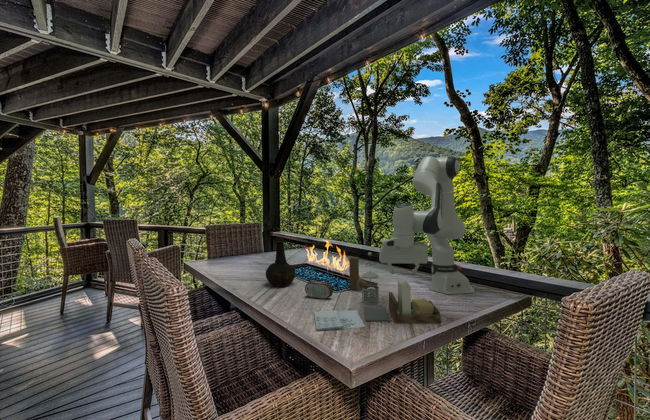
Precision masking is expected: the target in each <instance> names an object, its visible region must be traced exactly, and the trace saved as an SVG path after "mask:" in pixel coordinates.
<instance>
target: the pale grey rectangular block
mask: <svg viewBox="0 0 650 420" xmlns="http://www.w3.org/2000/svg"><path fill="white" fill-rule="evenodd" d="M411 289H412V288H411V285H410V283H409V282H408V281H407V279H397V302H398V310H397V313H398V314H412V310H411V302H412V293H411V291H412V290H411Z"/></svg>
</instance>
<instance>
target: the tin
mask: <svg viewBox="0 0 650 420" xmlns="http://www.w3.org/2000/svg"><path fill="white" fill-rule="evenodd" d="M304 291H305V293H306V296H307V297H309V298H313V299H320V300H328V299H329V298H331V297H332V296H333V293H334V290H333V287H332V285H331V284H330V283H328V282H327V281H318V280H310V281H309V282H307V283H306V285H305V286H304Z"/></svg>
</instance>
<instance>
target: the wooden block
mask: <svg viewBox="0 0 650 420" xmlns="http://www.w3.org/2000/svg"><path fill="white" fill-rule="evenodd" d="M348 261H349V262H348V263H349V264H348V265H349V290H350V291H353V292H355V291H357V292H362V291H361V290H362V287H363V288H364V285H363V283H365V282H368V281H366V280H365V279H364V280H363V278H361V277H360V273H359V272H360V271H359V270H360V269H359V266H360V265H359V256H350V257H349V260H348ZM360 278H361V279H360ZM358 280H360V281H358ZM362 280H363V281H362ZM357 281H358V282H359V285H358V283H357ZM357 286H358V288H357ZM359 287H360V288H359ZM358 289H359V290H358ZM360 289H361V290H360Z"/></svg>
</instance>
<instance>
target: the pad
mask: <svg viewBox="0 0 650 420" xmlns="http://www.w3.org/2000/svg"><path fill="white" fill-rule="evenodd" d="M363 314H364V315H363V316H364V320H365V322H367V323H368V322H371V323H372V322H375V323H377V322H378V323H379V322H382V323H383V322H384V323H385V322H387V323H389V322H391V319H390V316H389V313H388V311H387V308H386V307H385V308H382V307H381V308H380V307H372V308H370V307H363Z"/></svg>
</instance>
